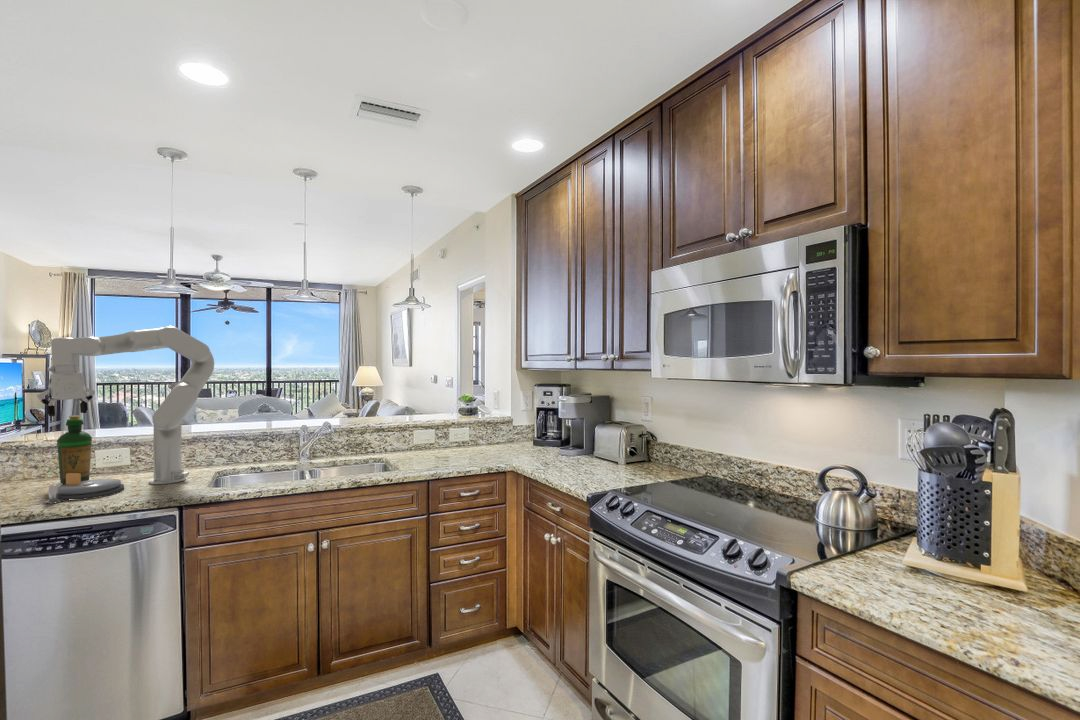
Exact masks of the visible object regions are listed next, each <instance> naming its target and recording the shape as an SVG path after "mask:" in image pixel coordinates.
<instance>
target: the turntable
mask: <svg viewBox="0 0 1080 720" xmlns="http://www.w3.org/2000/svg"><path fill="white" fill-rule="evenodd" d="M121 484H122V480H121V479H117V478H100V479H99V478H97V479H89V480H87V481H81V473H68V474H66V484H64V485H59V486H58V495H78V494H88V493H95V492H101V491H106V490H110V489H114V488H117V487H119V486H120V485H121Z"/></svg>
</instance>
